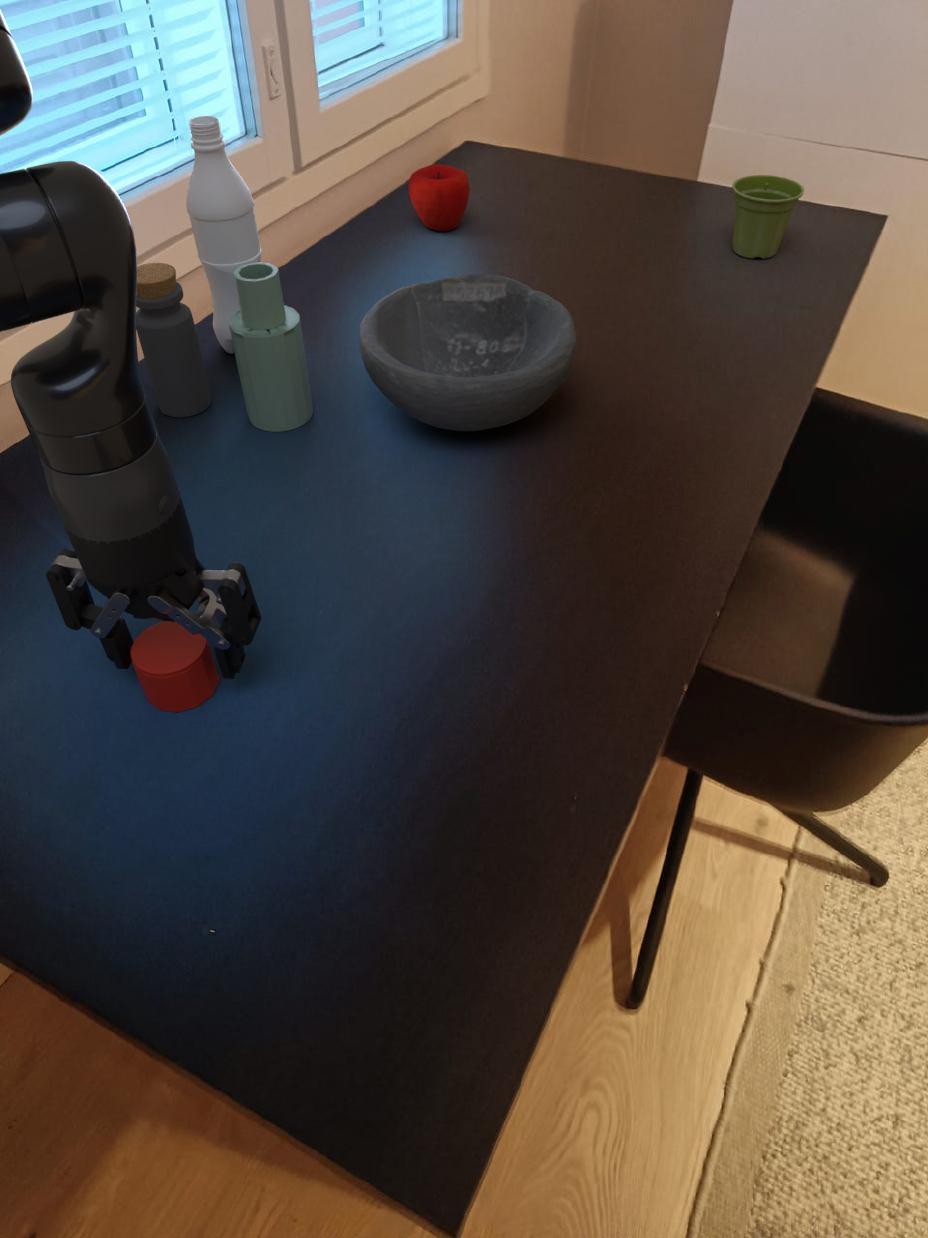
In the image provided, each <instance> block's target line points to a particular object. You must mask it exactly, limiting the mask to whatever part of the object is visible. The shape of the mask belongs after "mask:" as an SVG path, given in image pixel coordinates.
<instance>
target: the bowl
mask: <svg viewBox="0 0 928 1238" xmlns="http://www.w3.org/2000/svg"><path fill="white" fill-rule="evenodd" d="M576 346H577V332H576V326H575V321H574V320H573V316H572V315H571V313H570V312H569V310H568V309H567V307H565V305H563V304H562V303H561V302H560V301H558V300H557V299H555V298H553V297H551V296H550V295H549V294H547V293H545V292H543V291H541V290H534V289H533V288H531V287H530V286H528V285H526V284H525V283H522V282H520V281H518V280H515V279H513V278H511V277H507V276H504V275H497V274H479V273H474V272H473V273H466V274H461V275H459V274H458V275H449V276H446V277H445V276H444V277H442V278H439V279H436V280H431V281H424V282H416V283H413V284H411V285H404V286H403V287H401V288H398V289H396V290H394V291H392V292H390V293H388V294H387V295H385V296H383V297H381V298H380V299H379V300H378V301H377V302H376V303H374V304H373V305H372V306H371V307H370V309H369V310H368V311H367V312H366V314H365V315H364V317H363V319H361V322H360V326H359V352H360V357H361V361H362V364H363V366H364V369H365V370H366V373H367V374H368V377H369V378H370V380H371V382H372V383H373V384H374V385H375V387H376V388H377V389H378V390H379V392H380V393H381V394H382V395H383V396H384V397H385V398H386V399H387V400H389V401H390V402H391V403H392V404H393V405H394V406H395V407H396V408H398V409H399V410H400V411H401V412H404V413H405V414H407V415H408V416H409V417H412V418H413V419H415V420H417V421H419V422H422V423H424V424H426V425H429V426H432V427H435V428H439V429H443V430H449V431H456V432H457V431H458V432H478V431H483V430H489V429H490V430H491V429H494V428H499V427H504V426H508V425H510V424H513V423H515V422H517V421H520V420H522V419H524V418H526V417H528V416H530V415H531V414H532V413H534V412H535V411H536V410H538V409H539V408H540V407H541V406H542V405H544V404H545V403H546V402H547V401H548V400H549V399H550V398H551V396H552V395H554V393H555V392H556V391H557V389H558V388H559V386H560V385H561V384H562V383H563V381H564V380H565V378H566V377H567V375H568V373H569V371H570V368H571V366H572V364H573V360H574V356H575V352H576Z"/></svg>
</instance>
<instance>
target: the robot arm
mask: <svg viewBox="0 0 928 1238" xmlns="http://www.w3.org/2000/svg"><path fill="white" fill-rule="evenodd" d="M33 102H34V91H33V86H32V83H31V79H30V76H29V73H28V71H27V68H26V66H25V63H24V60H23V57H22V56H21V53H20V51H19V48H18V46H17V45H16V42H15V41H14V37H13V35H12V32H11V30H10V28H9V26H8V23H7V21H6V19H5V16H4V14H3V12H2V9H1V8H0V136H2V135H4V134H5V135H6V133H8V132H10V131H11V130H12V129H15V128H16V127H17V126H18V125H20V124H21V123H22V122H23V121H24V120H25V119H26V118H27V117H28V116H29V114H30V112H31V110H32V107H33ZM136 245H137V244H136V239H135V231H134V228H133V224H132V221H131V219H130V215H129V213H128V211H127V208H126V206H125V204H124V202H123V200H122V198H121V197H120V195H119V194H118V192H117V190H116V189H115V188H114V187H113V186H112V185H111V183H110V182H109V181H108V180H107V179H106V178H105V177H104V176H103V175H101V174H100V172H98V171H97V170H95V169H94V168H92V167H91V166H89V165H86V164H85V163H83V162H79V161H77V160H76V161H75V160H58V161H52V162H48V163H43V164H38V165H34V166H30V167H26V168H20V169H15V170H11V171H6V172H1V173H0V333H2V332H6V331H9V330H14V329H17V328H21V327H24V326H28V325H31V324H35V323H38V322H42V321H45V320H49V319H53V318H56V317H60V316H63V315H67V314H71V313H73V315H72V318H71V320H70V322H69V323H68V324H67V325H66V326H65V327H64V328H63V329H62V330H60V331H59V332H58V333H57V334H55V335H54V336H51V338H49V339H46V340H45V341H43V342H41V343H40V344H39V345H36V346H35V347H34V348H32V349H30V350H29V351H28V352H27V353H25V354H24V355H23V356H21V357H20V358H19V359H18V361H17V362H16V363H15V365H14V366H13V368H12V371H11V374H10V386H11V392H12V396H13V398H14V401H15V403H16V406H17V409H18V410H19V412H20V414H21V417H22V419H23V422H24V424H25V427H26V429H27V431H28V434H29V436H30V439H31V441H32V443H33V446H34V448H35V450H36V453H37V455H38V457H39V460H40V463H41V466H42V469H43V474H44V478H45V482H46V485H47V489H48V492H49V494H50V497H51V500H52V502H53V504H54V506H55V509H56V511H57V512H58V513H57V514H58V516H59V518H60V520H61V523H62V525H63V527H64V530H65V532H66V534H67V536H68V539H69V542H70V543H71V546H72V548H73V550H72V549H71V548H63V549H61V551H60V552H59V554H58V555H57V556H56V558H55V559H54V560H53V562H52V563H51V565H50V567H49V569H48V570H47V572H46V573H45V577H46V580H47V582H48V584H49V588H50V591H51V593H52V595H53V598H54V600H55V603H56V605H57V607H58V610H59V612H60V615H61V617H62V620H63V622H64V625H65V626H66V627H67V628H68V629H70V630H72V631H80V630H81V628H84V629H87V630H90V633H91V634H92V635H93V637H96V638H97V639H99V641H100V643H101V646H102V648H103V651H104V653H105V655H106V657H107V658H108V659H109V661H110V662H112V663H113V664H114V666H115V668H117V669H118V670H129V668H130V666H131V664H133V661H132V658H131V648H132V645H133V642H134V641H135V640H133V637H132V634H131V631H130V629H129V626H128V625H127V622H126V619H125V618H123V617H121V616H122V614H124V612H125V613H127V614H129V615H132V617H133V619H139V620H148V619H156V620H160V621H162V622H163V621H170V622H175V621H176V622H177V623H178V624H180V625H181V626H182V627H183V628H185V629H186V630H187V631H188V632H190V633H191V634H193V635H196V634H201V635H202V636H203V637H205V638H206V639H207V641H208V642H210V643H211V644H212V645H213V646H214V647H213V651H214V655H215V658H216V660H217V663H218V667H219V670H220V673H221V676H222V678H223V680H224V679H225V680H234V679H235V677H236V676H237V674H240V672H241V669H242V668H243V665H244V662H245V660H246V657H247V656H246V655H247V654H246V652H245V651H246V650H245V648H244V646H251V644H252V643H253V641H254V638H255V635H256V633H257V630H258V628H259V625H260V623H261V621H262V615H261V612H260V609H259V606H258V603H257V600H256V597H255V594H254V590H253V587H252V585H251V582H250V581H251V580H250V578H249V575H248V573H247V569H246V567H245V566H244V565H243V564H242V563H240V562H237V561H232V562H230V563H229V564H228V566H227V569H226V570H217V569H216V570H214V569H207V568H206V567H205V565H203V563H201V561H200V560H199V559H198V557H197V555H196V550H195V539H194V535H193V532H192V528H191V525H190V521H189V518H188V515H187V512H186V508H185V505H184V501H183V499H182V495H181V492H180V488H179V484H178V481H177V478H176V475H175V473H174V468H173V465H172V462H171V459H170V456H169V454H168V451H167V449H166V446H165V445H164V443H163V441H162V439H161V436H160V434H159V432H158V429H157V426H156V422H155V420H154V416H153V413H152V410H151V407H150V402H149V399H148V396H147V393H146V390H145V386H144V383H143V380H142V376H141V370H140V364H139V356H138V355H139V353H138V339H137V337H138V336H137V330H136V312H137V307H136V296H137V266H138V260H137V259H138V258H137V257H138V256H137V246H136ZM89 585H90V586H91V587H93V588H94V589H95V590H96V591H98V592H99V593H100V594H101V595H103V597H105V598H106V599H107V600H106V602H105V603H104V605H103V606H100V605H96V604H95V600H94V598H93V595H92V593H91V590H90V587H89ZM196 601H198V604H199V605H198V608H197V611H196V612H195V614H194V613H193V612H192V611H190V609H191V608H192V606H193V605H194V604H195V602H196ZM212 619H213V620H214V621H215V622H217V623H218V624H219V625H220V626H219V627H217V625H215V624H214V622H213V621H212Z"/></svg>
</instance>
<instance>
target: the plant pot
mask: <svg viewBox="0 0 928 1238" xmlns="http://www.w3.org/2000/svg"><path fill="white" fill-rule="evenodd" d="M731 190H732V191H733V199H734V203H735V204H734V220H733V234H732V249H733V252H734V253H735V254H736V255H738V256H741V257H744V258H746V259H755V258H760V259H763V260H764V259H769V258H772V257H774V256H775V255H776V254H777V252H778V251H779V248H780V246H781V242H782V239H783V236H784V234H785V232H786V229H787V226H788V223H789V220H790V218H791V216H792V212H793V211H794V208H795V207H796V206H797V204H798V202H799V199H801V198H802V197H803V195H804V193H805V189H804V186H802V184H800V183H799V182H797V181H795V180H793V179H791V178H787V177H783V176H778V175H769V174H754V175H747V176H746V175H745V176H742V177H740V178H737V179H736V180H734V181H733V183H732V185H731Z"/></svg>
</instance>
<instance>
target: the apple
mask: <svg viewBox="0 0 928 1238" xmlns="http://www.w3.org/2000/svg"><path fill="white" fill-rule="evenodd" d="M408 195H409V199H410V201H411V204H412V206H413V208H414V211H415V212H416V214H417V216H418V218H419V219H420V221H421V222H422V223H423V225H424V226H425V227H426V228H427V229H429V230H434V231H437V232H438V231H439V232H448V231H452V230H454V229H455V228H457V226H458V225H459V224H460V222H461V220H462V218H463V216H464V214H465V212H466V209H467V207H468V203H469V198H470V183H469V177H468V174H467V173H466V171H464V170H462V169H460V168H457V167H454V166H451V165H446V164H430V165H427V166H424V167H421V168H418V169H417V170H415V171H414V172H413V173H411V175H410V176H409V179H408Z"/></svg>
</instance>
